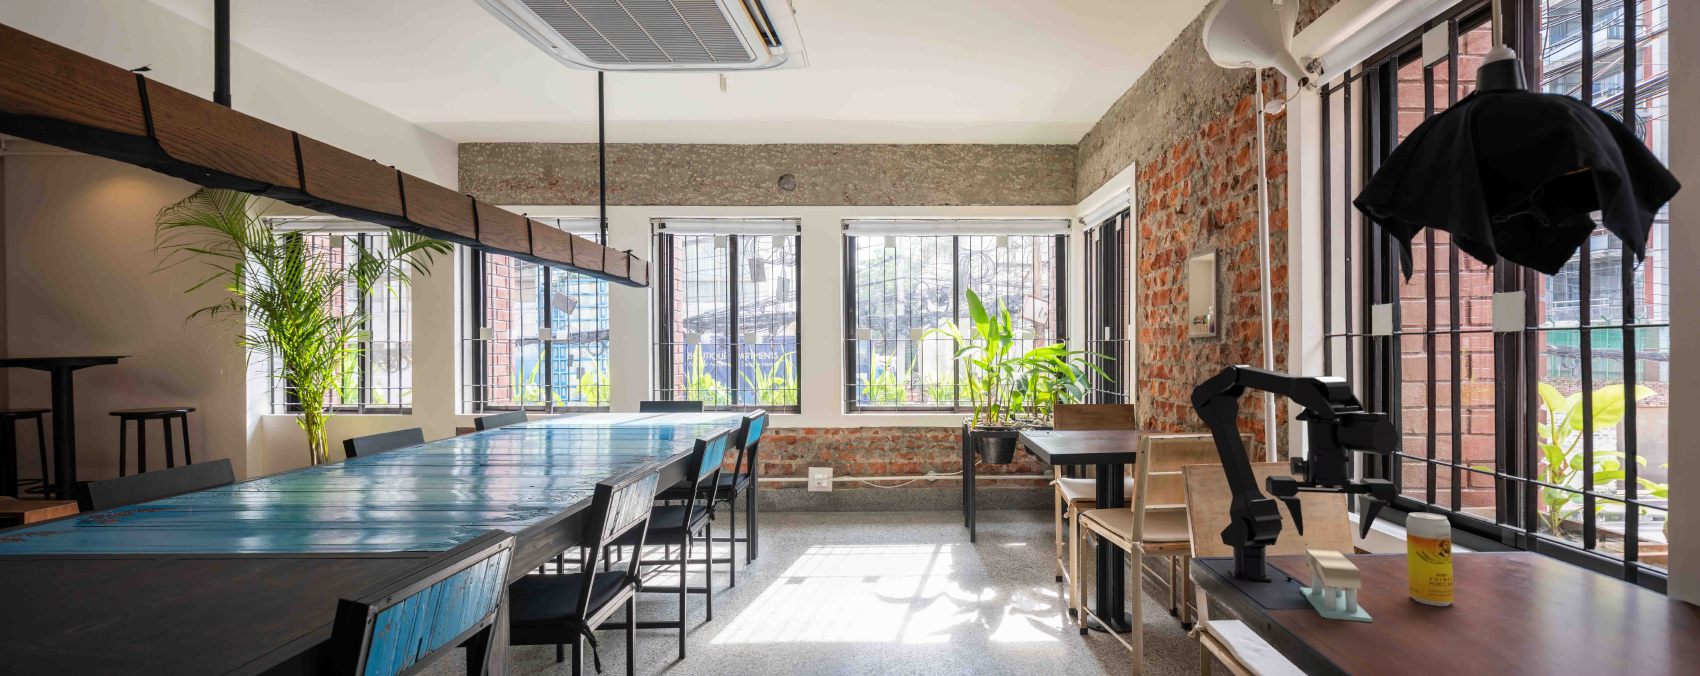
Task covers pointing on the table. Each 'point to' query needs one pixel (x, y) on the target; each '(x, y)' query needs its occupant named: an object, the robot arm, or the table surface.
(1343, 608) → the peg stand
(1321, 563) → the board
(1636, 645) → the table surface
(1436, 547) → the beer can
